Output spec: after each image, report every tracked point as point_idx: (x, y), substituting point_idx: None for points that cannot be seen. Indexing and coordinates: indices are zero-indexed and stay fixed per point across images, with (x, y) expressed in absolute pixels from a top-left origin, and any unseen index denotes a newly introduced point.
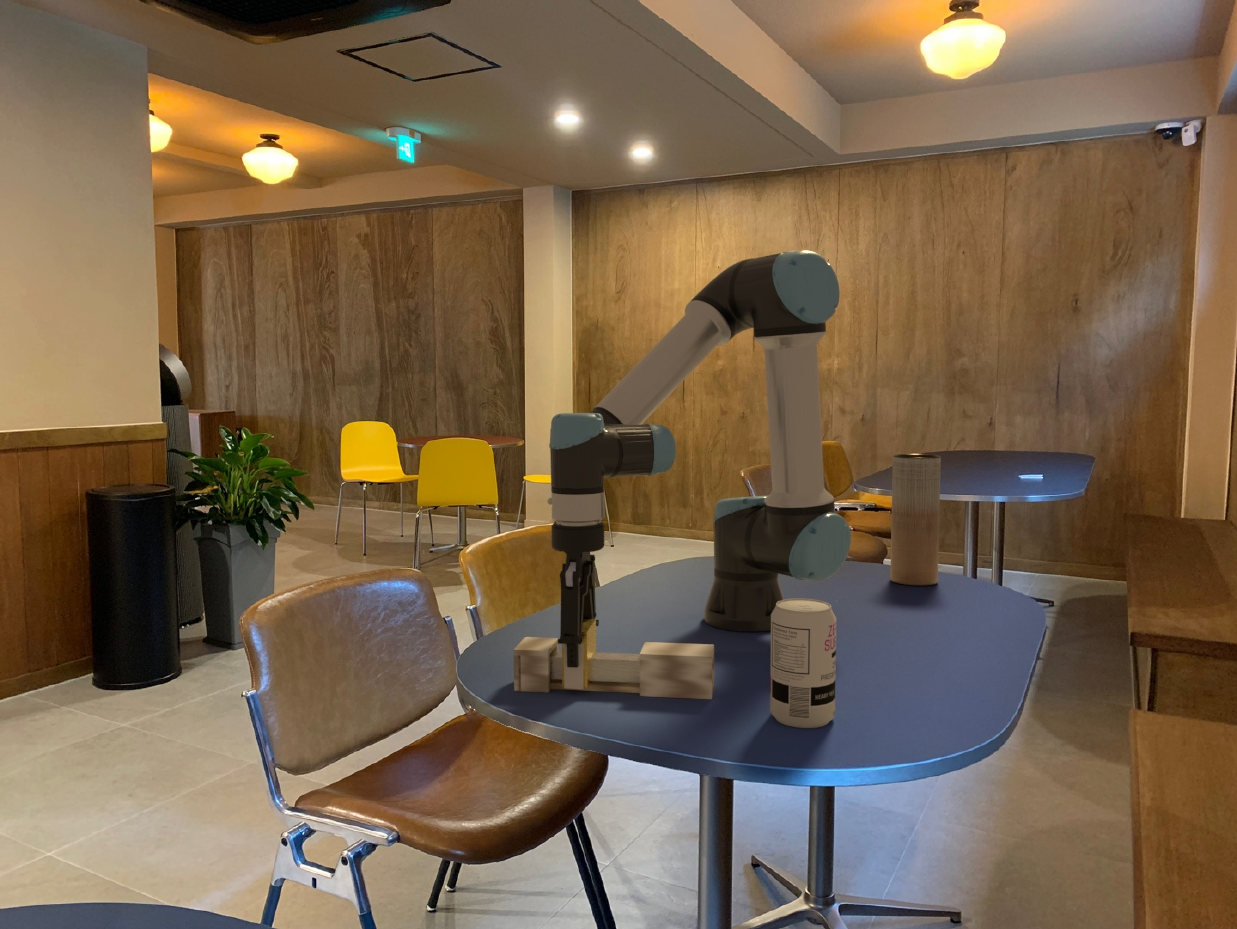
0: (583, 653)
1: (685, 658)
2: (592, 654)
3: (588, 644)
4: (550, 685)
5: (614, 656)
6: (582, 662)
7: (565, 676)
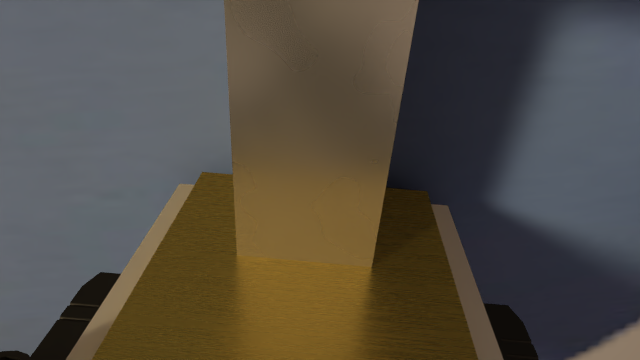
0: (475, 338)
1: None
2: (286, 259)
3: (421, 356)
4: None
5: (315, 133)
6: (479, 300)
7: None
